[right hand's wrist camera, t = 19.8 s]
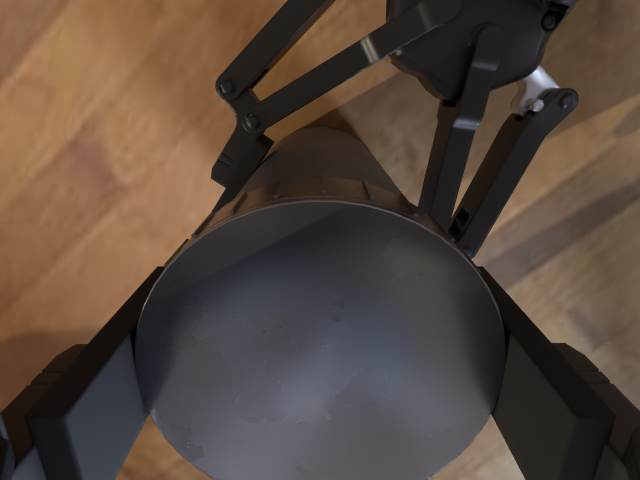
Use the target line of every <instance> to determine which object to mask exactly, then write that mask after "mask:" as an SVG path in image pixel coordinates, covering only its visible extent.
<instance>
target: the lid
mask: <svg viewBox="0 0 640 480" xmlns="http://www.w3.org/2000/svg"><path fill="white" fill-rule="evenodd" d="M454 241H455V240H454V239H453V238H452V236H451V235H450V234H449V233H448V232H447V231H446V230H445V228H444V227H443V226H442V225H441V224H440V223H439V222H438V220H437V219H436V218H435V217H434V216H432V217H431V218H430V217H429V216H428V215H427V214H425V213H424V212H423V211H422V210H420V209H419V208H418V207H417V206H415V205H413V204H412V203H410V202H409V201H408V200H407V199H406V197H405V196H404V195H402V194H401V195H400V196H399V195H396V194H394V193H392V192H389V191H387V190H385V189H382V188H380V187H377V186H374V185H370V184H368V182H367V181H366V180H363V181H362V182H359V181H355V180H348V179H341V178H334V177H326V175H322V177H308V178H299V179H291V180H286V181H285V179H284V178H282V179H280V181H279V182H278V183H274V184H270V185H266V186H263V187H261V188H258V189H256V190H254V191H251V192H249V193H246V191H244V192H242V193H241V195H240V196H239V198H237V199H235V200H234V201H232V202H230V203H228V204H227V205H225V206H224V207H223V208H221V209H220V210H219V211H218V212H216V213H215V214H214V213H213V212H211V213H210V214H209V215H208V216H207V218H206V219H205V220H204V221H203V222H202V223H201V225H200V226H199V227H198V228H197V229H196V230H195V231H194V233H193V234H192V235H191V238H190V239H186V240H185V241H184V242H183V244H182V245H181V246H180V247H179V248H178V249H177V250H176V252H175V253H174V254H173V255H172V256H171V257H170V259H169V260H168V261H167V262H166V263H165V264H164V266H163V268H165V269H164V271H163V272H162V274H161V275H160V276H159V278H158V279H157V281H156V282H155V283H154V285H153V287H152V289H151V291H150V293H149V295H148V297H147V299H146V301H145V303H144V305H143V309H142V312H141V315H140V318H139V321H138V325H137V331H136V339H135V368H136V374H137V379H138V384H139V389H140V392H141V395H142V398H143V401H144V403H145V406H146V408H147V410H148V412H149V414H150V416H151V417H152V419H153V421H154V423H155V424H156V426H157V427H158V429H159V430H160V432H161V433H162V434H163V436H164V437H165V439H166V440H167V441H168V442H169V443H170V444H171V445H172V446H173V447H174V448H175V450H176V451H177V452H178V453H179V454H180V455H181V456H183V457H184V458H185V459H186V460H187V461H188V462H190V463H191V464H192V465H193V466H194V467H196V468H197V469H199V470H200V471H202V472H203V473H205V474H206V475H208V476H209V477H211V478H212V479H214V480H426V479H428V478H430V477H431V476H433V475H434V474H436V473H437V472H439V471H440V470H442V469H443V468H445V467H446V466H447V465H448V464H450V463H451V462H452V461H453V460H454V459H456V458H457V457H458V456H459V455H460V454H461V453H462V452H463V451H464V450H465V449H466V448H467V447H468V446H469V445H470V444H471V443H472V442H473V440H474V439H475V438H476V436H477V435H478V434H479V432H480V431H481V430H482V428H483V427H484V425H485V424H486V422H487V420H488V418H489V416H490V415H491V413H492V411H493V409H494V407H495V404H496V402H497V399H498V396H499V394H500V390H501V385H502V380H503V375H504V370H505V363H506V343H505V334H504V327H503V324H502V320H501V316H500V313H499V309H498V307H497V305H496V302H495V300H494V298H493V296H492V294H491V292H490V289H489V287H488V286H487V285H486V283H485V282H484V280H483V279H482V277H481V276H480V273H481V271H480V269H479V268H478V267H477V266H476V265H475V264H474V263H473V261H472V260H471V259H470V258H469V257H468V256H467V254H466V253H465V252H464V251H463V250H462V249H461V248H460V246H459V245H458V244H457V243H456V244H454V243H453V242H454Z"/></svg>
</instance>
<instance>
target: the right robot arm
mask: <svg viewBox="0 0 640 480" xmlns="http://www.w3.org/2000/svg"><path fill="white" fill-rule="evenodd" d="M478 268H479V269H480V271H481V273H480V276H481V277H482V279H483V280H484V282H485V283H486V285H487V286H488V287H489V289H490V292H491V294H492V296H493V298H494V300H495V302H496V305H497V307H498V309H499V313H500V316H501V320H502V324H503V327H504V334H505V343H506V363H505V370H504V375H503V380H502V385H501V390H500V394H499V396H498V399H497V402H496V404H495V407H494V409H493V411H492V413H491V414H492V416H493V418H494V420H495V422H496V424H497V426H498V428H499V430H500V432H501V434H502V436H503V437H504V439H505V441H506V443H507V445H508V447H509V449H510V451H511V453H512V455H513V457H514V459H515V460H516V462H517V464H518V466H519V468H520V470H521V472H522V474H523V476H524V478H525V480H640V411H639V410H638V409H637V408H636V407H635V406H634V405H633V404H632V403H631V402H630V401H629V400H628V399H627V398H626V397H625V396H624V395H623V394H622V393H621V392H620V391H619V390H618V389H617V388H616V387H615V386H614V385H613V384H610V380H609V379H608V378H607V377H606V376H605V375H604V374H603V373H602V372H599V371H598V368H597V367H596V366H595V365H594V364H593V363H592V362H591V361H590V360H589V359H588V358H587V357H586V356H585V355H584V354H582V353H580V352H579V351H577V350H575V349H574V348H572V347H571V346H569V345H567V344H566V343H551V342H550V341H549V340H548V339H547V338H546V336H545V335H544V334H543V333H542V332H541V331H540V330H539V329H538V328H537V326H536V325H535V324H534V323H533V322H532V321H531V320H530V319H529V318H528V316H527V315H526V314H525V313H524V312H523V311H522V310H521V309H520V308H519V306H518V305H517V304H516V303H515V302H514V301H513V300H512V299H511V298H510V296H509V295H508V294H507V293H506V292H505V291H504V290H503V289H502V288H501V286H500V285H499V284H498V283H497V282H496V281H495V280H494V279H493V278H492V276H491V275H490V274H489V273H488V272H487V271H486V270H485V269H484V268H483V267H478ZM164 269H165V268H163V267H157V268H156V269H155V270H154V271H153V272H152V273H151V274H150V276H149V277H148V278H147V279H146V280H145V281H144V282H143V283H142V284H141V286H140V287H139V288H138V289H137V290H136V291H135V292H134V293H133V294H132V296H131V297H130V298H129V299H128V300H127V301H126V302H125V303H124V304H123V306H122V307H121V308H120V309H119V310H118V311H117V312H116V313H115V315H114V316H113V317H112V318H111V319H110V320H109V321H108V322H107V323H106V325H105V326H104V327H103V328H102V329H101V330H100V331H99V332H98V333H97V335H96V336H95V337H94V338H93V339H92V340H91V341H90V342H89V343H88V344H75V345H74V346H72V347H70V348H69V349H67V350H66V351H64V352H62V353H61V354H59V355H58V356H56V357H55V358H54V359H53V360H52V361H51V362H50V363H49V364H48V365H47V366H46V367H45V368H44V369H43V370H42V373H39V374H38V375H37V376H36V378H35V379H34V380H33V381H32V382H31V385H28V386H27V387H26V388H25V389H24V390H23V391H22V392H21V393H20V394H19V395H18V396H17V397H16V398H15V399H14V400H13V401H12V402H11V403H10V404H9V405H8V406H7V407H6V408H5V409H4V410H3V411H2V412H0V480H115V478H116V476H117V474H118V472H119V471H120V469H121V467H122V465H123V463H124V461H125V459H126V457H127V455H128V453H129V451H130V449H131V448H132V446H133V444H134V442H135V440H136V438H137V436H138V434H139V432H140V430H141V428H142V426H143V424H144V423H145V421H146V419H147V417H148V415H149V412H148V410H147V408H146V406H145V403H144V401H143V398H142V395H141V392H140V389H139V384H138V379H137V374H136V368H135V339H136V331H137V325H138V321H139V318H140V315H141V312H142V309H143V305H144V303H145V301H146V299H147V297H148V295H149V293H150V291H151V289H152V287H153V285H154V283H155V282H156V281H157V279H158V278H159V276H160V275H161V274H162V272H163V271H164Z"/></svg>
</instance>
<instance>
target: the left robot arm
mask: <svg viewBox="0 0 640 480" xmlns="http://www.w3.org/2000/svg"><path fill="white" fill-rule="evenodd" d="M578 1H579V0H387V3H386V24H384V25H383V26H381V27H379V28H378V29H376V30H375V31H373V32H371V33H370V34H368V35H367V36H365V37H364V38H362V39H361V40H359V41H358V42H356V43H354V44H353V45H351V46H350V47H348V48H346V49H345V50H343V51H342V52H340V53H338V54H337V55H335V56H333V57H332V58H330V59H329V60H327V61H325V62H324V63H322V64H321V65H319V66H317V67H316V68H314V69H312V70H311V71H309V72H308V73H306V74H304V75H303V76H301V77H300V78H298V79H296V80H295V81H293V82H291V83H290V84H288V85H287V86H285V87H283V88H282V89H280V90H278V91H277V92H275V93H274V94H272V95H270V96H269V97H267V98H266V99H264V100H262V101H260V100H259V99H258V97H257V96H256V94H255V93H254V92H253V90H252V89H253V88H254V87H255V86H256V85H257V84H258V83H259V82H260V80H261V79H262V78H263V77H264V76H265V75H266V74H267V73H268V72H269V71H270V70H271V69H272V68H273V67H274V66H275V64H276V63H277V62H278V61H279V60H280V59H281V58H282V57H283V56H284V55H285V54H286V53H287V52H288V51H289V50H290V48H291V47H292V46H293V45H294V44H295V43H296V42H297V41H298V40H299V39H300V38H301V37H302V36H303V35H304V34H305V32H306V31H307V30H308V29H309V28H310V27H311V26H312V25H313V24H314V23H315V22H316V21H317V20H318V19H319V18H320V17H321V15H322V14H323V13H324V12H325V11H326V10H327V9H328V8H329V7H330V6H331V5H332V4H333V3H334V2H335V0H288V1H287V2H286V3H285V4H284V5H283V6H282V7H281V9H280V10H279V11H278V12H277V13H276V14H275V15H274V16H273V17H272V19H271V20H270V21H269V22H268V23H267V24H266V25H265V26H264V27H263V28H262V30H261V31H260V32H259V33H258V34H257V35H256V36H255V37H254V38H253V40H252V41H251V42H250V43H249V44H248V45H247V46H246V47H245V48H244V50H243V51H242V52H241V53H240V54H239V55H238V56H237V57H236V58H235V60H234V61H233V62H232V63H231V64H230V65H229V66H228V67H227V68H226V70H225V71H224V72H223V73H222V74H221V75H220V76H219V77H218V79H217V81H216V85H215V88H216V92H217V93H218V95H219V96H220V97H221V98H222V99H224V100H225V101H226V102H227V104H228V105H229V106H230V108H231V109H232V110H233V112H234V114H235V116H236V119H237V125H236V128H235V130H234V132H233V134H232V136H231V137H230V139H229V141H228V142H227V144H226V146H225V147H224V149H223V151H222V153H221V154H220V156H219V158H218V159H217V161H216V163H215V164H214V166H213V168H212V173H211V179H213V180H214V181H216V182H217V183H219V184H220V185H222V186H224V187H225V188H226V189H225V191H224V192H223V194H222V196H221V197H220V199H219V201H218V202H217V204H216V206H215V207H214V209H213V210H212V212H213V213H214V214H215V213H216V212H218V211H219V210H220V209H221V208H223V207H224V206H225V205H227V204H228V203H230V202H232V201H233V200H234V199H235V197H236V196H237V195H238V193H239V192H240V191H241V189H242V188H243V187H244V185H245V184H246V183H247V181H248V180H249V179H250V177H251V176H252V175H253V174H254V172H255V171H256V170H257V168H258V167H259V165H260V164H261V162H262V161H263V159H264V158H265V156H266V154H267V153H268V151H269V150H270V148H271V146H272V145H273V143H274V141H273V140H271V139H270V138H268V137H267V136H265V135H264V134H263V133H264V132H265V130H266V129H267V128H268V127H270V126H272V125H273V124H275V123H277V122H278V121H280V120H282V119H283V118H285V117H287V116H288V115H290V114H292V113H293V112H295V111H297V110H298V109H300V108H302V107H303V106H305V105H307V104H308V103H310V102H311V101H313V100H315V99H316V98H318V97H320V96H321V95H323V94H325V93H326V92H328V91H330V90H331V89H333V88H335V87H336V86H338V85H340V84H341V83H343V82H345V81H346V80H348V79H350V78H351V77H353V76H355V75H356V74H358V73H360V72H361V71H363V70H365V69H366V68H368V67H370V66H371V65H373V64H375V63H376V62H378V61H380V60H382V59H383V58H385V57H387V56H388V55H389V56H390V58H391V60H392V61H391V63H392V64H393V65H395V66H396V67H397V68H398V69H400V70H401V71H402V72H405V73H408V74H410V75H413V76H415V77H417V78H418V80H419V81H420V82H421V84H422V85H423V86H424V88H425V89H426V90H427V91H428V92H429V93H431V94H432V95H433V96H435V97H436V98H438V99H441V100H440V105H439V109H438V115H437V118H438V124H437V128H436V133H435V137H434V141H433V145H432V149H431V154H430V158H429V162H428V166H427V170H426V175H425V179H424V183H423V187H422V191H421V196H420V200H419V204H418V208H419V209H420V210H422V211H423V212H424V213H425V214H427V215H428V216H429V217H430V218H431V217H432V216H434V217H435V218H436V219H437V220H438V222H439V223H440V224H441V225H442V226H443V227H444V228H445V230H446V231H447V232H448V233H449V234H450V235H451V236H452V238H453V239H454V240H455V241H454V242H453V243H454V244H456V243H457V244H458V245H459V246H460V248H461V249H462V250H463V251H464V252H465V253H466V254H467V256H468V257H469V258H470V259H473V258H474V257H475V255H476V254H477V252H478V250H479V249H480V247H481V245H482V244H483V242H484V240H485V238H486V237H487V235H488V233H489V232H490V230H491V228H492V226H493V225H494V223H495V221H496V220H497V218H498V216H499V215H500V213H501V211H502V209H503V208H504V206H505V204H506V203H507V201H508V199H509V197H510V196H511V194H512V192H513V191H514V189H515V187H516V185H517V184H518V182H519V180H520V179H521V177H522V175H523V174H524V172H525V170H526V168H527V167H528V165H529V163H530V162H531V160H532V158H533V156H534V155H535V153H536V151H537V150H538V148H539V146H540V144H541V143H542V141H543V139H544V138H545V136H546V135H547V134H548V133H549V132H551V131H552V130H553V129H554V128H555V127H556V126H557V125H558V124H559V123H560V122H561V121H562V120H563V119H564V118H565V117H567V116H568V115H569V114H570V113H571V112H572V111H573V110H574V109H575V107H576V106H577V104H578V94H577V92H576V91H575V90H574V89H571V88H560V87H559V86H558V85H557V84H556V83H555V82H554V80H553V79H552V78H551V77H550V76H549V74H548V73H547V72H546V71H545V70H544V69H543V67H542V66H541V65H540V63H541V61H542V58H543V54H544V50H545V47H546V44H547V41H548V39H549V37H550V35H551V34H552V32H553V31H554V30H555V29H556V27H557V26H558V25H559V24H560V23H561V22H562V21H563V20H564V18H565V17H566V16H567V15H568V14H569V13H570V11H571V10H572V9H573V7H574V6H575V5H576V4H577V2H578ZM513 82H516V83H517V86H518V90H517V94H516V95H515V97H514V99H513V100H512V102H511V110H512V112H513V113H512V114H511V115H510V116H509V117H508V119H507V120H506V121H505V122H504V124H503V125H502V127H501V129H500V130H499V132H498V134H497V136H496V138H495V139H494V141H493V143H492V145H491V147H490V149H489V150H488V152H487V154H486V156H485V158H484V160H483V162H482V163H481V165H480V167H479V169H478V171H477V173H476V174H475V176H474V178H473V180H472V182H471V184H470V185H469V187H468V189H467V191H466V193H465V195H464V196H463V198H462V200H461V202H460V204H459V206H458V208H457V209H456V211H455V213H454V215H453V217H452V214H453V210H454V206H455V202H456V199H457V195H458V191H459V188H460V184H461V180H462V177H463V173H464V169H465V166H466V162H467V158H468V155H469V151H470V147H471V144H472V140H473V136H474V133H475V130H476V128H477V127H478V126H479V125H480V123H481V121H482V118H483V114H484V111H485V107H486V103H487V100H488V96H489V93H490V91H491V90H494V89H497V88H500V87H502V86H505V85H508V84H511V83H513ZM451 217H452V219H451Z"/></svg>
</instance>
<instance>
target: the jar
mask: <svg viewBox="0 0 640 480" xmlns="http://www.w3.org/2000/svg"><path fill="white" fill-rule="evenodd" d="M322 175H326V177H334V178H341V179H348V180H355V181H359V182H362V181H363V180H366V181H367V182H368V184H370V185H374V186H377V187H380V188H382V189H385V190H387V191H389V192H392V193H394V194H396V195H399V196H400V195H401V194H402V193H401V192H400V190H399V189H398V188H397V186H396V185H395V184H394V182H393V181H392V180H391V178H390V177H389V176H388V174H387V173H386V172H385V171H384V169H383V168H382V167H381V165H380V164H379V163H378V161H377V160H376V159H375V157H374V156H373V155H372V154H371V152H370V151H369V150H368V148H367V147H366V146H365V145H364V144H363V143H362V142H361V141H359V140H358V139H357V138H356V137H354V136H352V135H351V134H349V133H347V132H345V131H342V130H339V129H336V128H332V127H324V126H316V127H308V128H304V129H301V130H298V131H296V132H293V133H291V134H289V135H288V136H286V137H285V138H283V139H282V140H281V141H280V142H278V143H277V144H276V145H275V146H274V147H273V149H272V150H271V151H270V152H269V154H268V155H267V156H266V158H265V159H264V160H263V162H262V163H261V164H260V166H259V167H258V168H257V170H256V171H255V172H254V174H253V175H252V176H251V177H250V179H249V180H248V181H247V183H246V184H245V185H244V187H243V188H242V189H241V191H240V192H239V193H238V195H237V196H236V197H235V199H237V198H239V196H240V195H241V193H242V192H244V191H246V193H249V192H251V191H254V190H256V189H258V188H261V187H263V186H266V185H270V184H274V183H278V182H279V181H280V179H282V178H284V179H285V181H286V180H291V179H299V178H308V177H322ZM402 195H403V194H402ZM235 199H234V200H235ZM234 200H233V201H234Z"/></svg>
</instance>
